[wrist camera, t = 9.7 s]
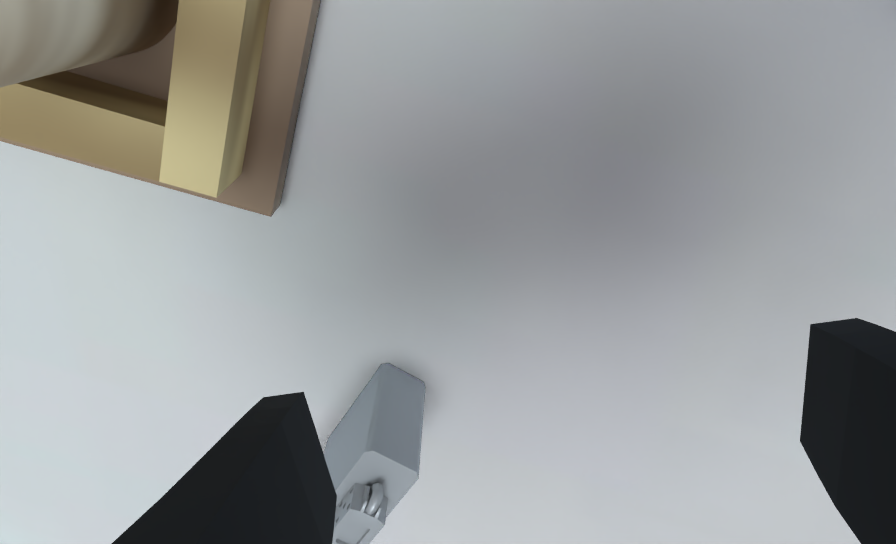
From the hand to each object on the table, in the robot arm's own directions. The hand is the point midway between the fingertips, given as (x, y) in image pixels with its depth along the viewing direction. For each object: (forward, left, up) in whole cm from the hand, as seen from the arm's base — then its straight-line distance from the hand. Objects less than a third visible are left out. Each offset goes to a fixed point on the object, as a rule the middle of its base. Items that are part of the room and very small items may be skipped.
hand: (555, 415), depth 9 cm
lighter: (+9, +6, -11) cm, 15 cm away
